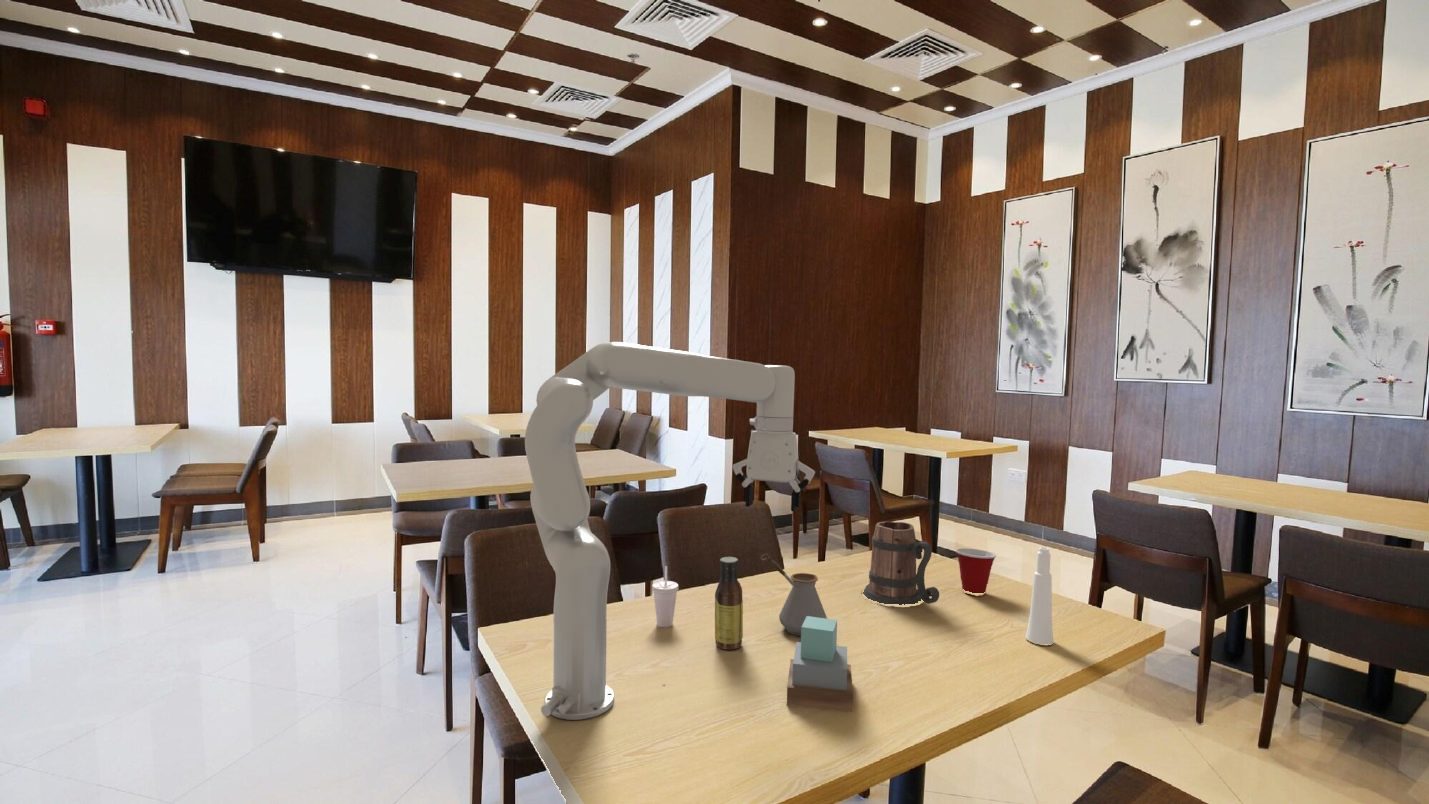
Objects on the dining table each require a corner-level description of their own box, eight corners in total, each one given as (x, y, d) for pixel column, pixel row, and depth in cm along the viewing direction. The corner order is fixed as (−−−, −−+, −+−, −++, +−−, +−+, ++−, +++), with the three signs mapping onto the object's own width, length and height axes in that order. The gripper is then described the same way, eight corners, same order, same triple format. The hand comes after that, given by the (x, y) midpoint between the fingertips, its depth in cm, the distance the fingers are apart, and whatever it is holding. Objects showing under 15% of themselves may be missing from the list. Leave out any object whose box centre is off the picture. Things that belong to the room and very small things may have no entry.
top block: (846, 690, 123) (847, 669, 123) (792, 684, 125) (792, 663, 125) (846, 666, 133) (847, 646, 133) (796, 661, 135) (796, 641, 134)
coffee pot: (837, 633, 158) (839, 570, 157) (800, 643, 151) (802, 579, 150) (779, 605, 175) (780, 549, 174) (744, 613, 169) (745, 555, 168)
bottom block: (852, 715, 122) (853, 693, 122) (786, 708, 124) (787, 687, 124) (850, 684, 134) (850, 664, 134) (790, 678, 136) (790, 659, 136)
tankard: (848, 592, 186) (850, 521, 185) (891, 583, 195) (893, 515, 194) (912, 620, 166) (915, 541, 165) (957, 609, 175) (961, 534, 174)
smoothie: (679, 619, 164) (680, 563, 163) (675, 630, 157) (676, 572, 157) (654, 618, 164) (655, 562, 164) (649, 628, 158) (649, 570, 157)
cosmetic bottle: (1024, 643, 154) (1029, 549, 153) (1025, 633, 159) (1030, 543, 158) (1053, 648, 151) (1058, 553, 150) (1054, 639, 157) (1058, 547, 155)
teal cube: (832, 662, 125) (833, 631, 125) (800, 657, 127) (801, 626, 127) (836, 650, 131) (837, 620, 131) (805, 645, 133) (806, 616, 132)
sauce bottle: (726, 637, 154) (728, 552, 153) (748, 645, 150) (750, 558, 149) (708, 646, 149) (709, 558, 148) (730, 654, 145) (732, 564, 144)
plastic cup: (997, 591, 190) (999, 549, 189) (991, 602, 180) (993, 558, 180) (958, 583, 195) (959, 543, 195) (949, 594, 186) (951, 552, 185)
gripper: (728, 424, 136) (726, 507, 137) (812, 429, 130) (809, 516, 131) (740, 421, 143) (737, 500, 144) (819, 426, 137) (816, 508, 138)
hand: (771, 507), depth 138 cm, fingers open, 9 cm apart
